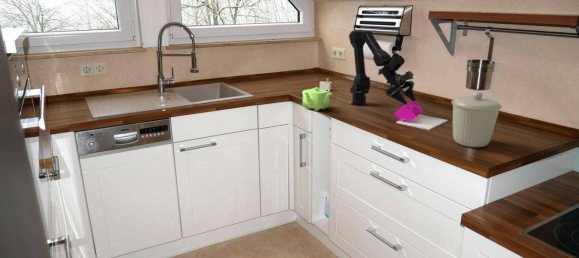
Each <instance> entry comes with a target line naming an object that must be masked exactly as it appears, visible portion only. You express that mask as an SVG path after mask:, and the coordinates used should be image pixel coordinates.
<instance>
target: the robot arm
mask: <svg viewBox="0 0 579 258" xmlns="http://www.w3.org/2000/svg"><path fill="white" fill-rule="evenodd" d="M348 39H349V42H350V45H351V46H352V48H353V55H354V56H353V57H354V65H355V67H354V68H355V77H354V79H353V85H352V86H351V87H350V88H349V92H350V93H349V94H352V98H351V99H352V100H351V101H352V102H350V105H353V106H357V107H361V106H364V105H367V96H366V94H369V91H370V89H371V84H372V83H371V79H370V76H368V75H367V74H366V66H365V65H366V64H365V53H364V46H365V44H366V45H367V47H368V48H369V50H370V51H371V53H372V55H373V57H372V59H373V62H374V65H375V66H376V67H381V68H379V69H378V76H380V75H382V76H383V77H384V79H385V80H386V84H388V85H389V86H390V87H389V88H387V89H386V91H385V94H386V96H387V97H390V98H392V99H394V100H396V101H398V102H400V103H402V104H404V105H405V104H407V103H408V102H407V100H406V98H405V96H406V97H407V98H409V99H410V101H411V100H413V101H415V102H416V101H417V99H416V97H415V94H414V91H413V90H414V87H415V82H414V81H413V79H414V73H413V72H412V71H410V70H408V71H406V72H405V73H404V74H400V73H397V72H398V70H399V69H401V67H402V66H403V65H404V64H405V62H406V61H405V58H404V57H403V56H402V55H400V54H399V53H398V52H394V53H392V55H390V54H389V52H388V51H386V50H384V49H383V48H382V47H381V45H380V43H378V41H377V40H376V38H375V36H374V33H373V31H371V30H352V31H351V32H350V33H349V35H348ZM403 94H404V95H403Z"/></svg>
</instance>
